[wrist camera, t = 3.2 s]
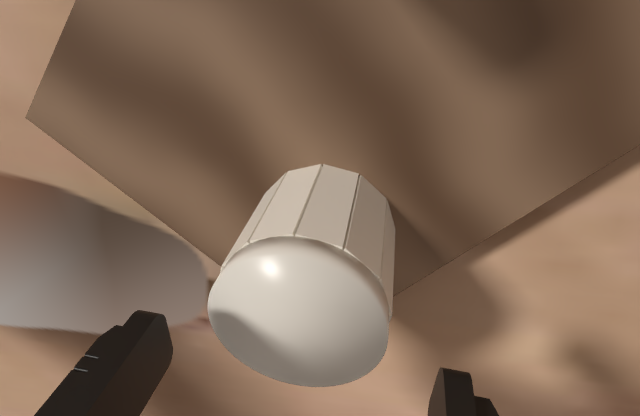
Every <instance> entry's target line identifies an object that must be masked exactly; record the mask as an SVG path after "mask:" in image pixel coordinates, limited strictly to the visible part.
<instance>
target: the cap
mask: <svg viewBox="0 0 640 416" xmlns="http://www.w3.org/2000/svg"><path fill="white" fill-rule="evenodd" d="M358 175H359V173H355V172H351V171H348V170H344V169H340V168H337V167H333V166H329V165H326V164H323V167H322V165H321V164H318V165H314V166H309V167H305V168H300V169H296V170H291V171H288V172H287V173H285V174H284V175H283V176H282V177H281V178H280V179H279V180H278V181H277V182H276V183H275V184H274V185H273V186H272V187H271V188H270V189H269V190H268V191H267V192H266V193H265V194H264V196H263V198H262V199H261V201H260V203H259V204H258V206H257V208H256V209H255V211H254V213H253V214H252V216H251V218H250V219H249V221H248V223H247V224H246V226H245V228H244V229H243V231H242V233H241V234H240V236H239V238H238V239H237V241H236V243H235V244H234V246H233V248H232V249H231V251H230V253H229V254H228V256H227V258H226V259H225V261H224V263H223V264H222V266H221V272H220V275H219V277H218V278H217V280H216V282H215V283H214V285H213V287H212V289H211V291H210V294H209V299H208V315H209V320H210V323H211V325H212V328H213V330H214V332H215V334H216V336H217V337H218V338H219V340H220V341H221V343H222V344H223V345H224V346H225V347H226V349H227V350H228V351H229V352H230V353H231V354H233V355H234V356H235V357H236V358H237V359H238V360H240V361H241V362H242V363H244V364H245V365H247V366H248V367H250V368H252V369H253V370H255V371H257V372H259V373H261V374H263V375H265V376H268V377H270V378H273V379H276V380H279V381H282V382H285V383H289V384H294V385H300V386H309V387H328V386H336V385H341V384H345V383H349V382H352V381H354V380H357V379H359V378H361V377H363V376H364V375H366V374H368V373H369V372H370V371H371V370H373V369H374V368H375V367H376V366H377V365H378V363H379V362H380V361H381V359H382V357H383V356H384V354H385V351H386V348H387V343H388V332H389V322H390V320H391V317H392V306H393V280H394V254H395V226H394V222H393V218H392V215H391V211H390V207H389V204H388V200H386V197H384V196H383V195H382V194H381V193H380V192H379V191H378V190H377V189H376V188H375V187H374V186H373V185H372V184H370V183H369V182H368V181H367V180H366V179H365V178H364V177H363V176H362V175H360V176H359V177H358Z"/></svg>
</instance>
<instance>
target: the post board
mask: <svg viewBox="0 0 640 416" xmlns="http://www.w3.org/2000/svg"><path fill="white" fill-rule="evenodd" d="M25 118H27V119H28V120H29V121H30V122H32V123H33V124H34V125H36V126H37V127H38V128H40V129H41V130H42V131H44V132H45V133H46V134H48V135H49V136H50V137H51V138H53V139H54V140H55V141H57V142H58V143H59V144H61V145H62V146H63V147H65V148H66V149H67V150H69V151H70V152H71V153H73V154H74V155H75V156H76V157H78V158H79V159H80V160H82V161H83V162H84V163H86V164H87V165H88V166H90V167H91V168H92V169H94V170H95V171H96V172H98V173H99V174H100V175H101V176H103V177H104V178H105V179H107V180H108V181H109V182H111V183H112V184H113V185H115V186H116V187H117V188H119V189H120V190H121V191H122V192H124V193H125V194H126V195H128V196H129V197H130V198H132V199H133V200H134V201H136V202H137V203H138V204H140V205H141V206H142V207H144V208H145V209H146V210H147V211H149V212H150V213H151V214H153V215H154V216H155V217H157V218H158V219H159V220H161V221H162V222H163V223H165V224H166V225H167V226H168V227H170V228H171V229H172V230H174V231H175V232H176V233H178V234H179V235H180V236H182V237H183V238H184V239H186V240H187V241H188V242H190V243H191V244H192V245H193V246H195V247H196V248H197V249H199V250H200V251H201V252H203V253H204V254H205V255H207V256H208V257H209V258H211V259H212V260H213V261H215V262H216V263H217V264H218V265H220V266H222V264H223V263H224V261H225V259H226V258H227V256H228V254H229V253H230V251H231V249H232V248H233V246H234V244H235V243H236V241H237V239H238V238H239V236H240V234H241V233H242V231H243V229H244V228H245V226H246V224H247V223H248V221H249V219H250V218H251V216H252V214H253V213H254V211H255V209H256V208H257V206H258V204H259V203H260V201H261V199H262V198H263V196H264V194H265V193H266V192H267V191H268V190H269V189H270V188H271V187H272V186H273V185H274V184H275V183H276V182H277V181H278V180H279V179H280V178H281V177H282V176H283V175H284V174H285V173H287V172H288V171H291V170H296V169H300V168H305V167H309V166H314V165H318V164H321V165H322V167H323V164H326V165H329V166H333V167H337V168H340V169H344V170H348V171H351V172H355V173H359V175H358V177H359V176H360V175H362V176H363V177H364V178H365V179H366V180H367V181H368V182H369V183H370V184H372V185H373V186H374V187H375V188H376V189H377V190H378V191H379V192H380V193H381V194H382V195H383V196H384V197H386V200H388V204H389V207H390V211H391V215H392V218H393V222H394V226H395V254H394V280H393V296H395V295H396V294H398V293H399V292H401V291H403V290H404V289H406V288H408V287H409V286H411V285H412V284H414V283H416V282H417V281H419V280H421V279H422V278H424V277H426V276H427V275H429V274H430V273H432V272H434V271H435V270H437V269H439V268H440V267H442V266H443V265H445V264H447V263H448V262H450V261H452V260H453V259H455V258H456V257H458V256H460V255H461V254H463V253H465V252H466V251H468V250H469V249H471V248H473V247H474V246H476V245H478V244H479V243H481V242H482V241H484V240H486V239H487V238H489V237H491V236H492V235H494V234H495V233H497V232H499V231H500V230H502V229H504V228H505V227H507V226H508V225H510V224H512V223H513V222H515V221H517V220H518V219H520V218H521V217H523V216H525V215H526V214H528V213H530V212H531V211H533V210H534V209H536V208H538V207H539V206H541V205H543V204H544V203H546V202H547V201H549V200H551V199H552V198H554V197H556V196H557V195H559V194H561V193H562V192H564V191H565V190H567V189H569V188H570V187H572V186H574V185H575V184H577V183H578V182H580V181H582V180H583V179H585V178H587V177H588V176H590V175H591V174H593V173H595V172H596V171H598V170H600V169H601V168H603V167H604V166H606V165H608V164H609V163H611V162H613V161H614V160H616V159H617V158H619V157H621V156H622V155H624V154H626V153H627V152H629V151H630V150H632V149H634V148H635V147H637V146H639V145H640V0H76V1H75V3H74V6H73V8H72V10H71V13H70V15H69V17H68V20H67V22H66V24H65V27H64V29H63V31H62V34H61V36H60V38H59V41H58V43H57V45H56V48H55V50H54V52H53V54H52V57H51V59H50V61H49V64H48V66H47V68H46V71H45V73H44V75H43V78H42V80H41V82H40V85H39V87H38V89H37V92H36V94H35V96H34V99H33V101H32V103H31V106H30V108H29V110H28V113H27V115H26V117H25Z"/></svg>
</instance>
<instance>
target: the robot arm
mask: <svg viewBox="0 0 640 416" xmlns="http://www.w3.org/2000/svg"><path fill="white" fill-rule="evenodd" d="M172 354H173V346H172V342H171V338H170V334H169V330H168V326H167V322H166V318H165V316H164V315H162V314H158V313H152V312H147V311H141V310H138V311H136V312H134V313H133V314H132V315H131V317H130V318H129V319H128V320H127V322H126V323H125V324H124V325H123V326H118V325H116V326H114V327H113V328H111V329H110V330H109V331H107V332H106V333H104V334H103V335H102V336H100V337H99V338H98V339H97V340H96V341H95V342H94V344H93V345H92V346H91V347H90V348H89V350H88V351H87V352H86V353H85V356H84V357H82V358H81V359H80V361H79V362H78V363H77V364H76V365H75V367H74V370H71V371H70V373H69V374H68V375H67V376H66V378H65V379H64V380H63V381H62V382H61V384H60V385H59V386H58V387H57V388H56V390H55V391H54V392H53V393H52V394H51V396H50V397H49V398H48V399H47V401H46V402H45V403H44V404H43V405H42V407H41V408H40V409H39V410H38V411H37V413H36V414H35V415H34V416H140V414H141V412H142V411H143V409H144V407H145V406H146V404H147V402H148V401H149V399H150V397H151V396H152V394H153V392H154V390H155V389H156V387H157V385H158V384H159V382H160V380H161V379H162V377H163V375H164V374H165V372H166V370H167V369H168V367H169V364H170V362H171V359H172ZM428 416H499V415H498V413H497V411H496V409H495V408H494V406H493V404H492V402H491V401H490V399H487V398H482V397H477V396H474V393H473V385H472V379H471V375H470V373H468V372H462V371H457V370H452V369H446V368H440V369H439V372H438V375H437V378H436V381H435V385H434V388H433V391H432V394H431V397H430V401H429V408H428Z"/></svg>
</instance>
